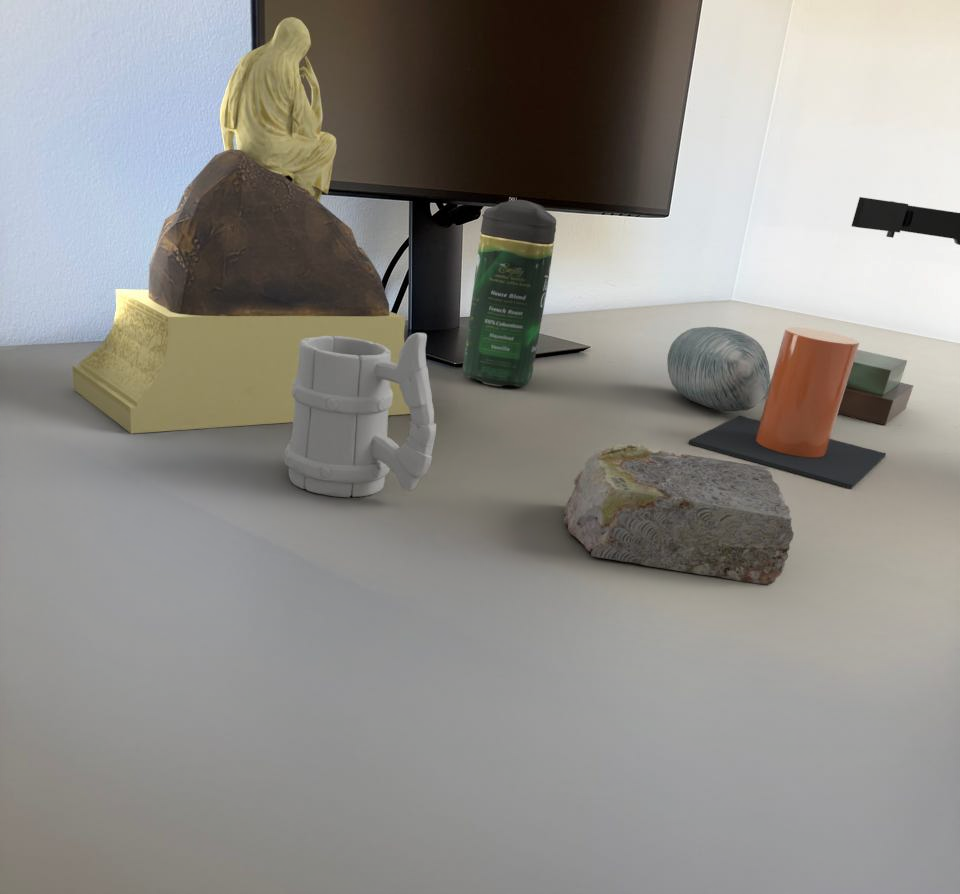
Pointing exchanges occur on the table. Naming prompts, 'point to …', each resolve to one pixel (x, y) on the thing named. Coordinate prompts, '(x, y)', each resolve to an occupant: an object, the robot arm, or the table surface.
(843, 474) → the mat
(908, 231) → the robot arm
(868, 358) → the stack
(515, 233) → the coffee jar
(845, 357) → the canister
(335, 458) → the mug
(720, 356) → the grey streaked ovoid
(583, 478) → the geological specimen
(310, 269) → the hooded thinker statue
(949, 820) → the table surface
